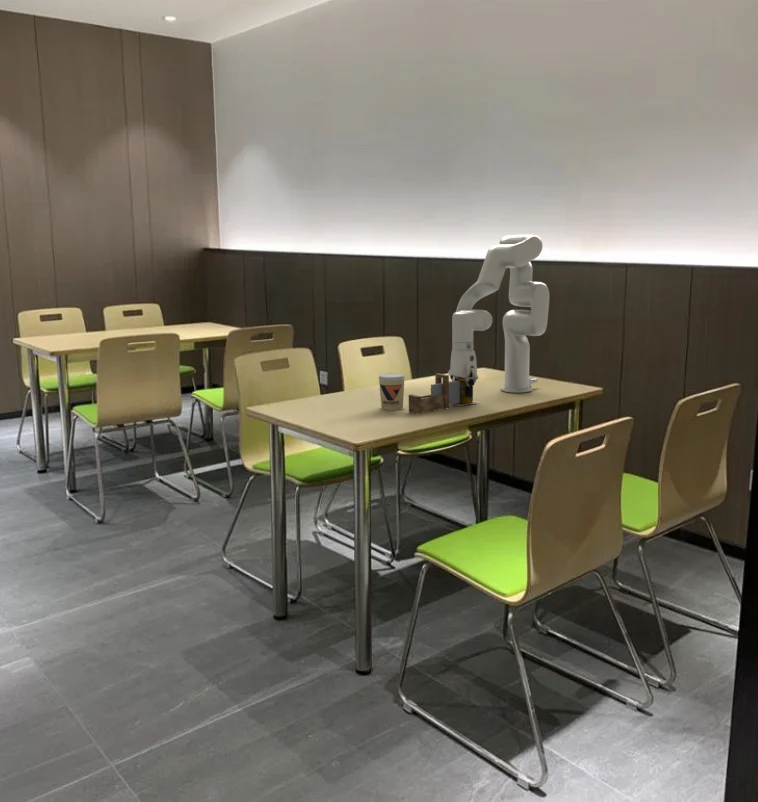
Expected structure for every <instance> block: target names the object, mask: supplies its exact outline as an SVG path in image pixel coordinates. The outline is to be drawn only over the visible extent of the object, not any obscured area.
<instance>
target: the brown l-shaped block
mask: <svg viewBox="0 0 758 802" xmlns="http://www.w3.org/2000/svg"><path fill="white" fill-rule="evenodd" d="M434 379H435V380H434V381H435V383H434V384H438V383H443V395H439V396H433V397H431V394H427V395H426V394H425V395H416V394H413V393H412V394H408V412H409V411H410V413H412V412H414V413H413V414H416V413H419V414H423V413H422V412H425V413H429V412H428V411H430V412H434V410H436V411H440V410H439V409H441V410H447V409H446V408H449V409H450V405H449V382H450V375H449V374H444V373H439V372H438V373H435V378H434Z"/></svg>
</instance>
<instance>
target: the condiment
mask: <svg viewBox="0 0 758 802" xmlns="http://www.w3.org/2000/svg"><path fill="white" fill-rule="evenodd" d="M469 377H470V376H469ZM468 380H469V381H470V379H468ZM456 381H460V403H456V404H453V405H454V406H457V407H458V406H459V407H462V406H466V405H474V404H478V402H476V401H474V395H473V396H471V397H465V386H467V385H466V381H465V378H461V377H457V379H456Z"/></svg>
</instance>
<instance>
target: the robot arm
mask: <svg viewBox="0 0 758 802" xmlns="http://www.w3.org/2000/svg"><path fill="white" fill-rule="evenodd" d="M542 251H543V240H542V239H541V237H539V236H538V235H535V234H510V235H505V236H503V237H501V238H500V240H499V244H495V245H492V246H491V247H490V248H489V249H488V250H487V252H486V255H485V258H484V261H483V264H482V267H481V270H480V272H479V275H478V278H477V281H475V283H473V284H472V285H471V286H470V287H469V288H468V289H467V290H466V291H465V292H464V293H463V294H462V296H461V298H460V299H459V302H458V304H457V307H456V310H455V312H453V314H452V317H451V318H452V321H451V323H452V324H451V327H452V328H451V329H452V331H451V332H452V335H451V336H452V337H451V339H452V346H451V348H452V349H451V355H450V365H449V366H450V367H449V368H450V369H449V370H447V375H449V379H450V380H451V381H456V379H457V377H461V378H465V381H466V385H467V386H465V397H471V396H473V397H474V386H475V383H476V381H477V380H478V379H479V375H478V366H477V364H478V363H477V356H476V351H475V350H474V348H475V345H474V331H480V332H483V331H486V330H488V329H490V328H491V326H492V324H493V316H492V314H491V312H489V311H487V310H484V309H474V305H475V304H477V302H478V301H480V300H481V299H483V298H485V297H487V296H489V295H491V294H493V293H495V292H497V291H499V289H500V287H501V284H502V282H503V278H504V276H505V272H506V270H507V269H509V271H510V274H509V286H508V288H509V289H508V300H509V301H508V302H509V303H510V304H511V305H513V306H516V307H524V308H525V307H526V308H527V307H529V308H530V310H528V309H511V310H508V311H507V312H505V314H504V315H503V317H502V330H503V334H504V384H503V385H501V386H500V390H501V392H505V393H514V394H515V393H519V394H520V393H521V394H522V393H529V392H533V390H534V387H533V386H532V385H533V384H537V383H538V379H537V377H534V378H531V377H530V353H531V352H530V350H531V347H530V342H529V339H528V337H527V336H532V337H538V336H539V337H540V336H542V335H543V334H545V333H546V330H547V326H548V320H549V319H548V318H549V307H550V291H549V288H548V286H547V284H546V283H544V282H541V281H533V275H534V274H533V271H534V270H533V265H532V263H531V262H532V261H533V260H536V258H538V257H539V256H540V255H541V253H542ZM469 376H470V377H469ZM468 379H470V381H469V380H468Z"/></svg>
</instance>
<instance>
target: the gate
mask: <svg viewBox="0 0 758 802" xmlns="http://www.w3.org/2000/svg"><path fill="white" fill-rule="evenodd" d="M430 395H431V397H433V396H439V395H443V382H442V383H438V384H435V383H432V384H430ZM456 403H460V381H452V380H451V381H449V406H450V405H454V404H456Z"/></svg>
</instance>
